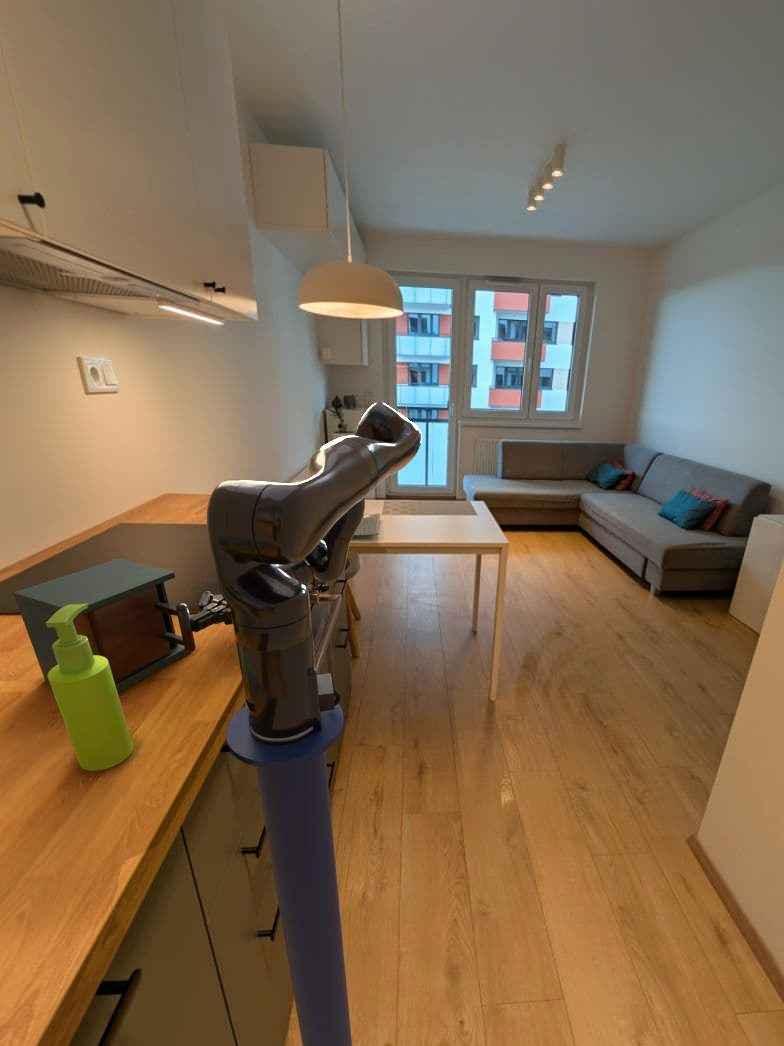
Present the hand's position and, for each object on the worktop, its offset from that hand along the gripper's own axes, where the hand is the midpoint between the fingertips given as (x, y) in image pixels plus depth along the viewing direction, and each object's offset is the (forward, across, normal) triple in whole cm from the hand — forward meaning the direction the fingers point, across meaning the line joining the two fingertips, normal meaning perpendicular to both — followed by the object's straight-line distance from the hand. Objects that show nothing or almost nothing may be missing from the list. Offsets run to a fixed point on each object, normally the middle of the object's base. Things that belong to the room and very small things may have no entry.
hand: (190, 626), depth 81 cm
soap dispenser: (+20, -6, -8) cm, 22 cm away
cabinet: (+5, +11, -7) cm, 14 cm away
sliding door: (+5, +3, -7) cm, 9 cm away
